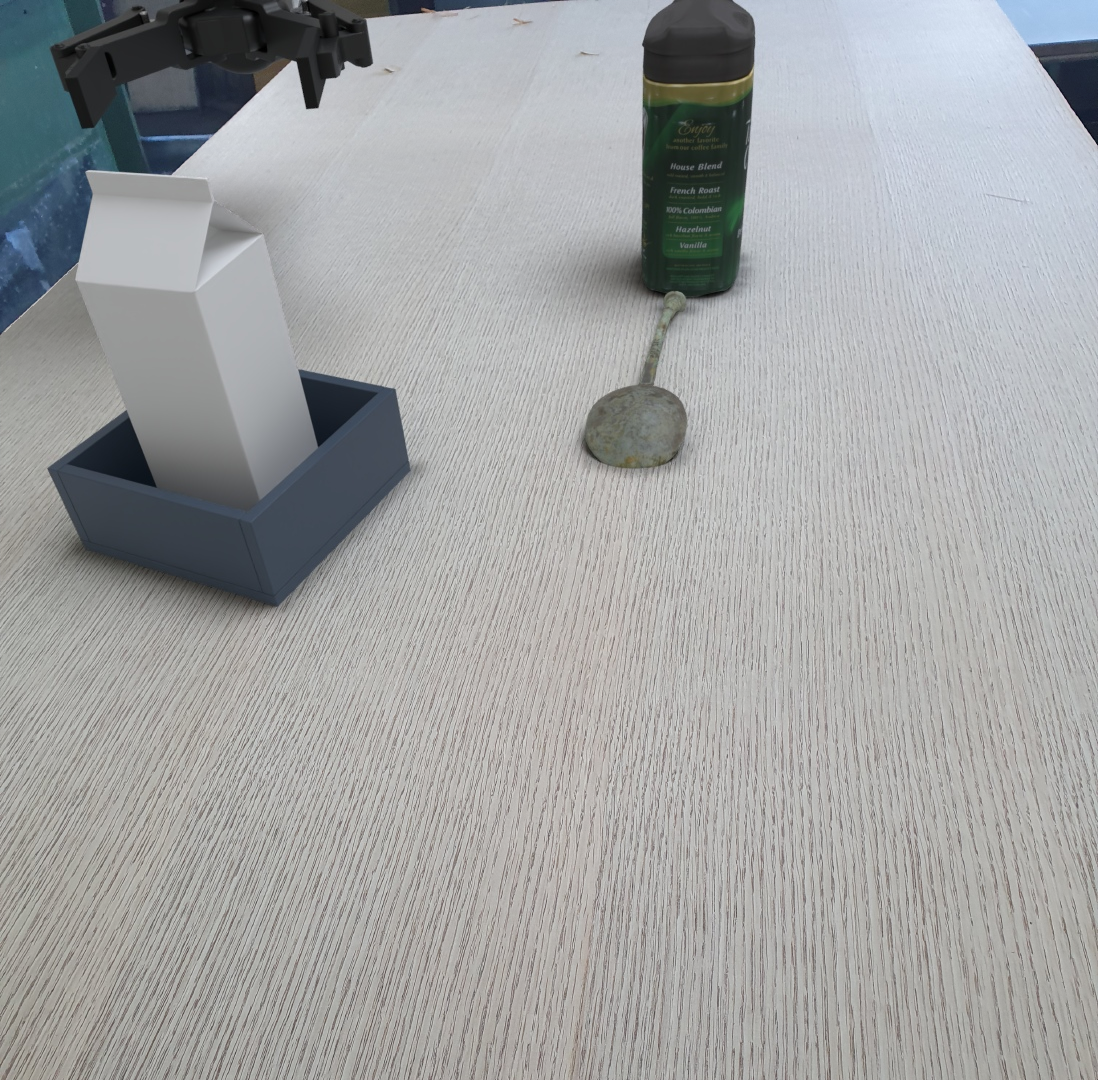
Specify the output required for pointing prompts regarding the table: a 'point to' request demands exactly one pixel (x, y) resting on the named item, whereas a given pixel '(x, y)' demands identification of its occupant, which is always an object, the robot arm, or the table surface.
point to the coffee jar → (695, 144)
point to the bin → (230, 534)
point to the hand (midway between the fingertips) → (193, 93)
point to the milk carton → (194, 337)
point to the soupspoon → (640, 412)
